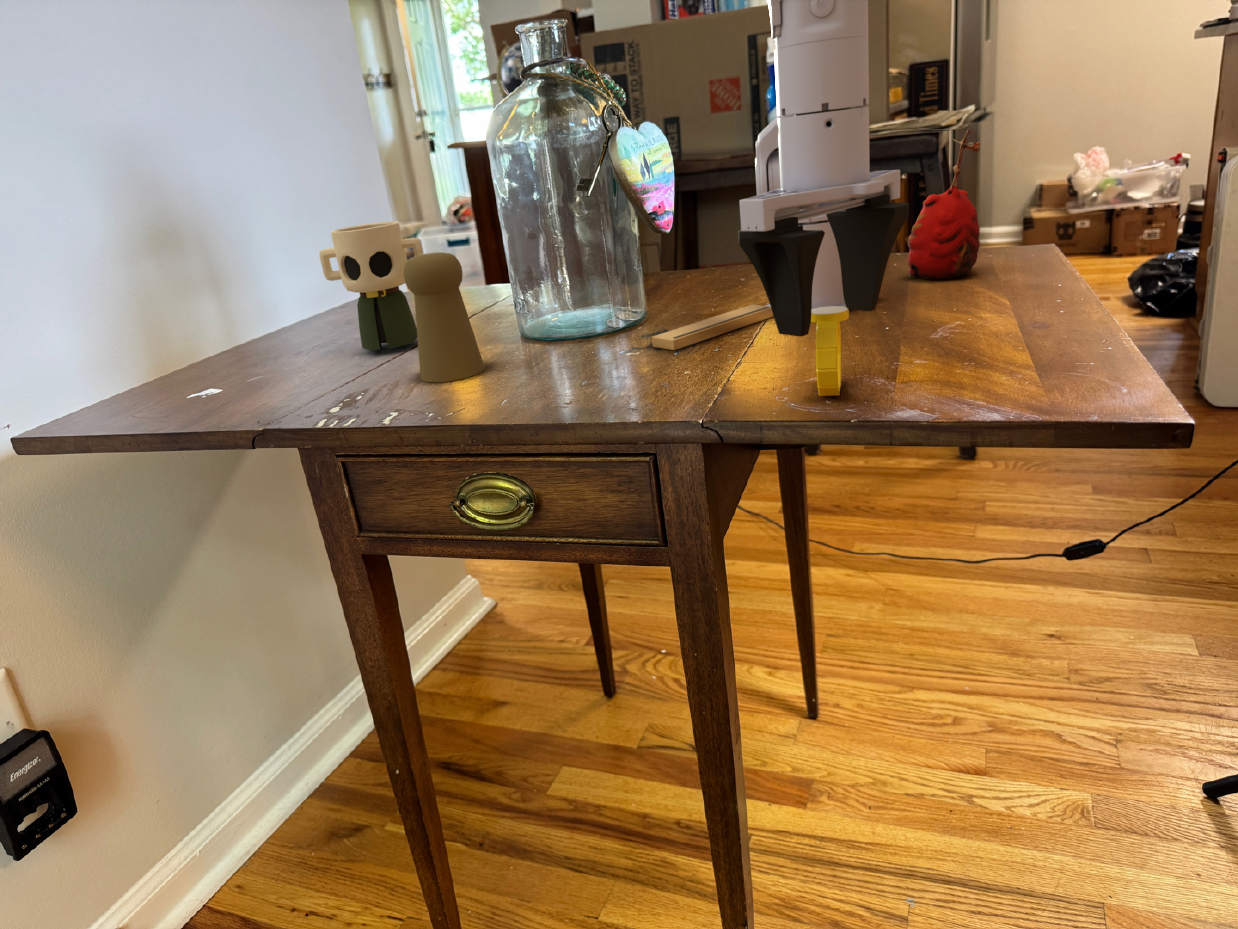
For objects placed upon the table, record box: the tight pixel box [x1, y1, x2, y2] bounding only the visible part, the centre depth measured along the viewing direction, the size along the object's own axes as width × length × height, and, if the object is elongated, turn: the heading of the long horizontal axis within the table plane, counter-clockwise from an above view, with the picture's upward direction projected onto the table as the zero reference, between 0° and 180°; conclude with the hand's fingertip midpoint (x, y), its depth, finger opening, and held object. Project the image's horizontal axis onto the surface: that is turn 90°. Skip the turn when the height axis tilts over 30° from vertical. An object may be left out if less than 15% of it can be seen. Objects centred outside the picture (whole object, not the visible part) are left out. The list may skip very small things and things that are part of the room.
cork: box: [404, 251, 486, 383], centre depth 77 cm, size 6×6×11 cm
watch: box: [811, 306, 850, 397], centre depth 60 cm, size 6×3×6 cm, turn 164°
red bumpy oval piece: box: [907, 128, 981, 281], centre depth 91 cm, size 8×7×15 cm
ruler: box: [651, 304, 774, 351], centre depth 82 cm, size 14×3×1 cm, turn 130°
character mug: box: [318, 221, 424, 351], centre depth 91 cm, size 11×7×13 cm, turn 91°
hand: (828, 321), depth 59 cm, fingers open, 7 cm apart
